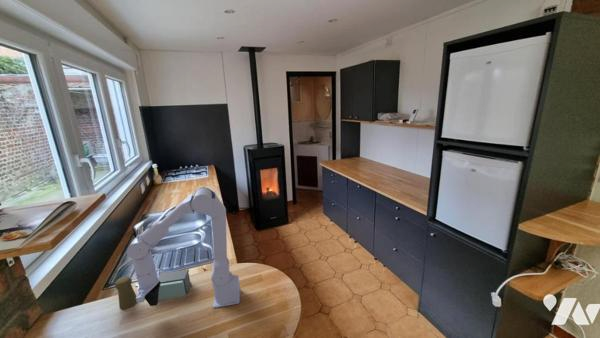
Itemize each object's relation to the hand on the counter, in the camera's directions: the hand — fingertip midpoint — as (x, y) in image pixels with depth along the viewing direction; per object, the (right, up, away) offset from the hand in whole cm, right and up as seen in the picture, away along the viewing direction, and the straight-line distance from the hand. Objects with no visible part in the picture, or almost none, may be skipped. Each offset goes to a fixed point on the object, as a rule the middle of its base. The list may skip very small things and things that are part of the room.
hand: (154, 304), depth 87 cm
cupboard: (0, -2, +14) cm, 14 cm away
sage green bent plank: (0, -3, +10) cm, 10 cm away
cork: (-15, -4, +8) cm, 17 cm away
